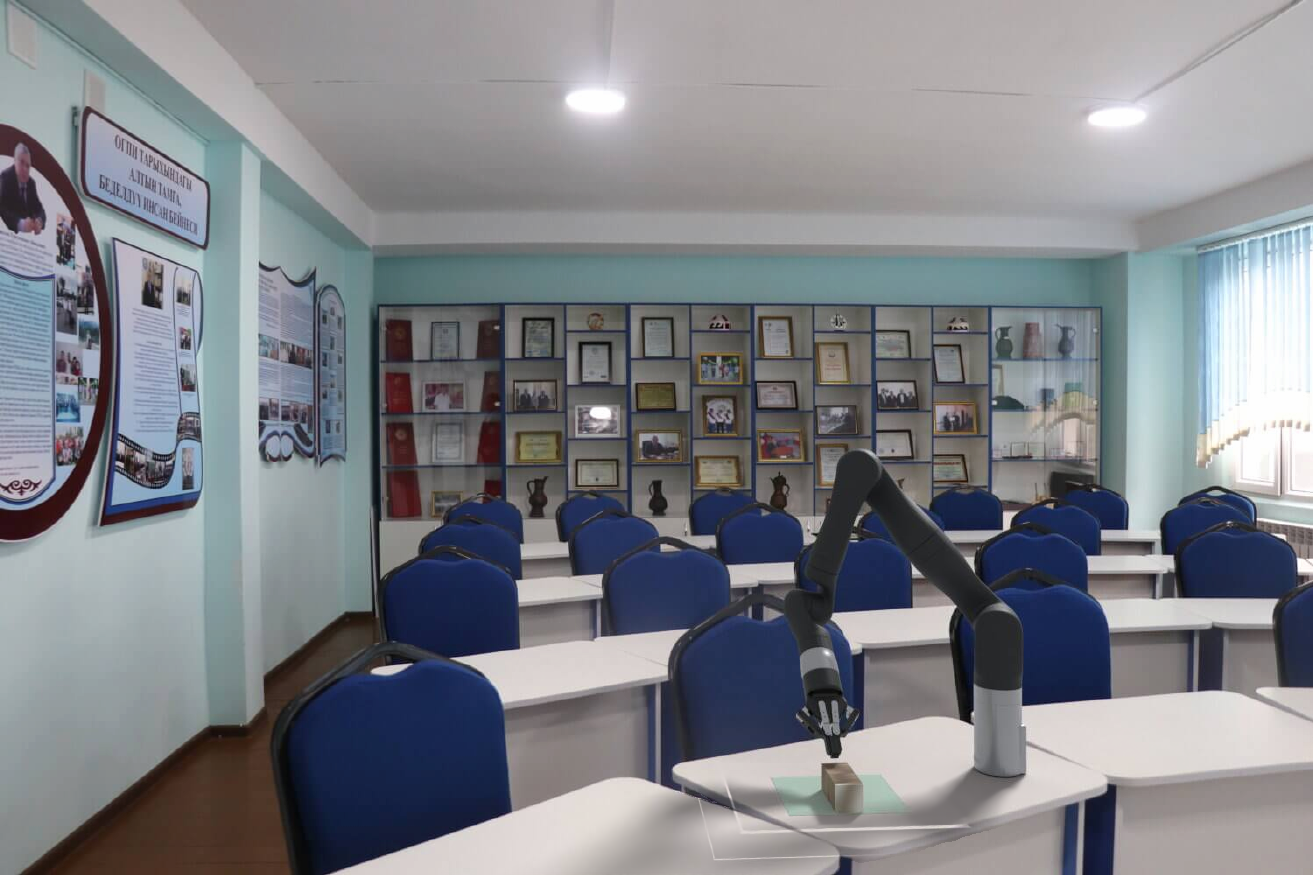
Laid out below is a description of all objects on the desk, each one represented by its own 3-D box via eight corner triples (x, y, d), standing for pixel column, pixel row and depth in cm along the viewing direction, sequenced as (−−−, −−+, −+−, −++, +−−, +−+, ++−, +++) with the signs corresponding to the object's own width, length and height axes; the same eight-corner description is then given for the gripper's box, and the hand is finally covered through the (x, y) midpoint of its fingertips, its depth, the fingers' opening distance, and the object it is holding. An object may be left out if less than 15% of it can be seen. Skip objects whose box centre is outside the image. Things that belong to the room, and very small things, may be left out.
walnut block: (847, 762, 184) (863, 784, 173) (847, 788, 184) (863, 812, 173) (821, 763, 184) (835, 785, 173) (821, 789, 184) (835, 812, 173)
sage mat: (880, 776, 192) (880, 774, 192) (911, 814, 173) (911, 812, 173) (770, 779, 191) (770, 777, 191) (789, 818, 172) (789, 815, 172)
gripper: (790, 666, 193) (803, 748, 180) (856, 665, 193) (873, 746, 181) (785, 686, 198) (798, 766, 186) (849, 684, 199) (865, 764, 187)
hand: (835, 756), depth 184 cm, fingers closed
